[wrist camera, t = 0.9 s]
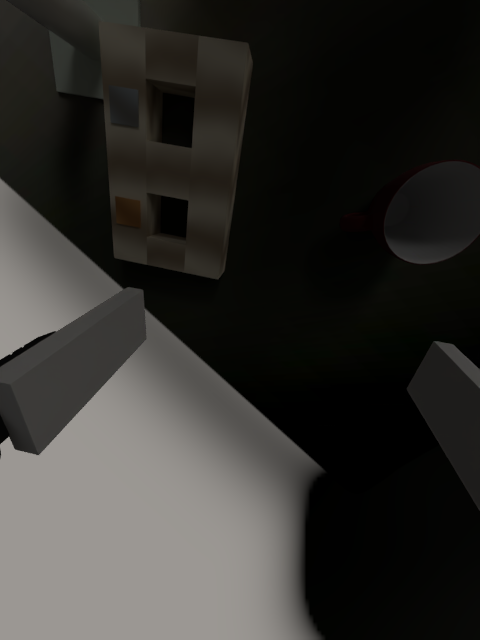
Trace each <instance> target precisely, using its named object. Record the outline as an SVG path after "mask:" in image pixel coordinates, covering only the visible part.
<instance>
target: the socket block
mask: <svg viewBox="0 0 480 640" xmlns="http://www.w3.org/2000/svg"><path fill="white" fill-rule="evenodd" d="M98 24H99V39H100V54H101V69H102V84H103V98H104V113H105V128H106V143H107V158H108V173H109V188H110V203H111V218H112V233H113V248H114V258H117V259H122V260H127V261H131V262H136V263H141V264H146V265H151V266H155V267H160V268H165V269H170V270H175V271H179V272H184V273H189V274H194V275H199V276H204V277H208V278H213V279H219V278H220V276H221V275H222V274H223V272H224V270H225V263H226V256H227V249H228V241H229V234H230V227H231V220H232V212H233V205H234V198H235V191H236V183H237V176H238V169H239V161H240V154H241V147H242V140H243V132H244V125H245V118H246V111H247V103H248V96H249V89H250V81H251V74H252V67H253V61H252V57H251V53H250V48H249V44H248V43H245V42H239V41H232V40H225V39H218V38H212V37H205V36H198V35H191V34H185V33H178V32H171V31H165V30H158V29H151V28H144V27H138V26H131V25H124V24H117V23H111V22H104V21H98ZM163 93H168V94H174V95H180V96H186V97H192V98H195V104H194V120H193V136H192V148H187V147H181V146H175V145H170V144H164V143H162V117H163ZM161 195H162V196H167V197H173V198H178V199H183V200H188V217H187V233H186V238H185V237H180V236H175V235H170V234H165V233H161Z"/></svg>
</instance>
